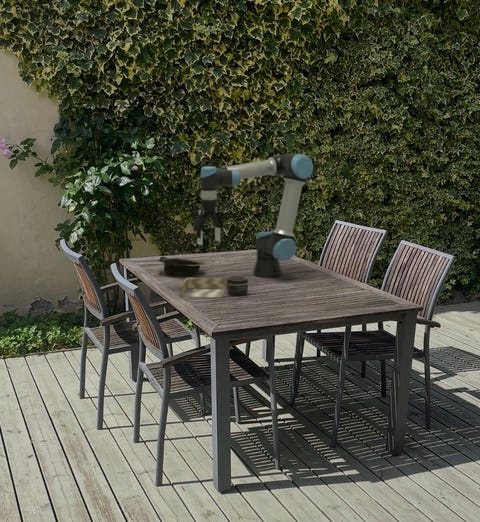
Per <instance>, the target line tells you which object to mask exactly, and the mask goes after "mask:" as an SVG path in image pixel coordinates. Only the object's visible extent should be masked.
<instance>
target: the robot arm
mask: <svg viewBox="0 0 480 522" xmlns="http://www.w3.org/2000/svg"><path fill="white" fill-rule="evenodd" d="M200 169H201V170H200V206H201V208H202V209H198V210H197V215H196V219H195V221H194V222H195V223H194V225H193V231H194V232H196V239H197V245H199V246H202V245H204V244H203V243H204V242H203V240H204V239H203V235H204V234H203V233H204V232H203V228H204V226H205V224H206V221H207V220H210V219H211V220H212V222H213V223H214V225H215V227H214V241H215V242H221V234H222V232H221V231H222V230H221V228H223V226H224V220H223V217H222V215H221V213H220V211H221V210H220V209H221V208H219V207H218V206H217V204H218V203H217V199H218V198H217V197H218V195H217V194H218V193H217V190H218V189H217V187H228V186H229V187H230V186H231V187H233V186H238V185H240V182H241V180H246V179H250V178H257V177H262V176H268V175H269V176H272V177H274V176H283V180H284V182H285V184H284V188H283V189H284V190H283V194H282V199H281V203H280V208H279V214H278V218H277V223H276V226H275V229H274V230H272V231H260V232H257V233H256V239H255V240H256V261H255V264H254V268H253V269H252V271H253V272H252V273H253V274H252V275H253V276H255V277H259V278H277V277H281V276H282V274H283V270H282V268H281V267H282V266H281V265H280V261H282V262H286V261H289V260H290V259H292V258H294V255H295V254H296V252H297V245H296V242H295V237H296V236H295V234H294V233H293V231H294V226H295V222H296V219H297V218H296V217H297V212H298V208H299V204H300V198H301V194H302V189H303V186H304V185H305V184H307V181H308V180H307V179H309V177H310V176H311V175H312V174H313V171H314V164H313V160H312V159H311V158H310V157H309V156H307V155H305V154H301V153H284V154H279V155H276V156H271V157H268V158H267V159H263V160H258V161H252V162H247V163H241V164H235V165H229V166H225V167H216V166H209V165H208V166H202V167H201V168H200Z"/></svg>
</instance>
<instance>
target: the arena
mask: <svg viewBox="0 0 480 522" xmlns="http://www.w3.org/2000/svg"><path fill="white" fill-rule="evenodd" d="M227 278H228V277H227ZM227 278H224V277H220V278H218V277H186V278H184V280H183V282H182V283H181V284H180V286H179V298H183V297H184V295H185V294H186V292H187V291H188V290H189V289H193V290H192V292H191V293H190V295H189V298H202V297H205V299H206V298H209V299H212V298H213V299H215V298H216V299H222V298H223V296H224V294H225V292H226V290H227ZM186 290H187V291H186ZM184 293H185V294H184ZM182 296H183V297H182Z"/></svg>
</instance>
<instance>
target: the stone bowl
mask: <svg viewBox="0 0 480 522" xmlns="http://www.w3.org/2000/svg"><path fill="white" fill-rule="evenodd" d="M159 262H160V263H164V265H163V272H164V274H165V276H176V275H178V274H180V276H181V277H183V276H185V277H186V278H188V277H190V276H191V277H192V276H195V275H197V274H198V272H199V270H200V268H201V266H205V265H206V262H204V261H201V260H196V259H189V258H182V257H181V258H180V257H175V258H174V257H171V258H168V257H166V256H160V257H159V260H158V263H159ZM175 274H176V275H175ZM187 276H188V277H187ZM185 277H184V278H185Z"/></svg>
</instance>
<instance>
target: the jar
mask: <svg viewBox="0 0 480 522" xmlns="http://www.w3.org/2000/svg"><path fill="white" fill-rule="evenodd" d="M248 284H249V278H248V277H246V276H242V275H241V276H239V275H237V276H229V277H227V289H226V293H227V294H228V295H229V296H233V297H242V296H246V295H247V294H248V290H249V285H248Z"/></svg>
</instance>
